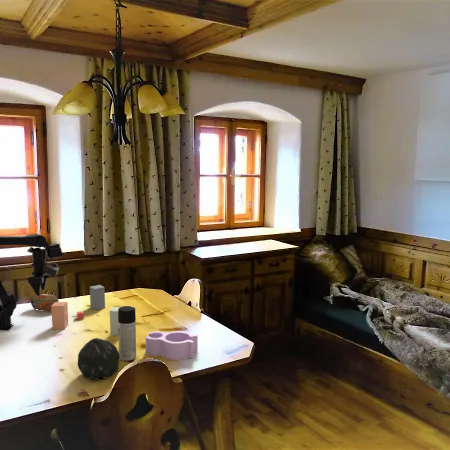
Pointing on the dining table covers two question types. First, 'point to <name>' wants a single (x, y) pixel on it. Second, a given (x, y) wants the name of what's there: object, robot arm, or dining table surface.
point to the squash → (98, 359)
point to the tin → (43, 302)
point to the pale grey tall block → (114, 321)
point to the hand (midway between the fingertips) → (40, 292)
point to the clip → (172, 344)
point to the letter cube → (80, 315)
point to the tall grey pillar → (97, 297)
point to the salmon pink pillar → (59, 315)
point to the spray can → (127, 333)
